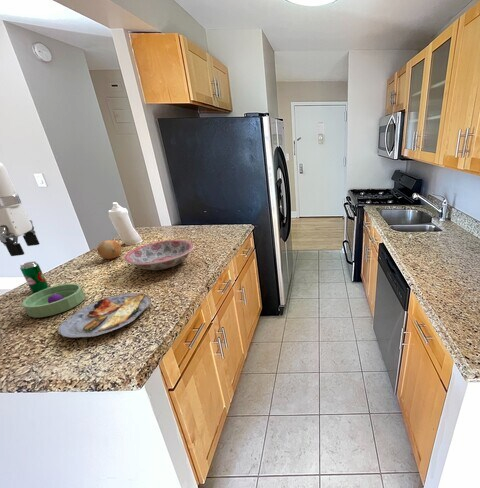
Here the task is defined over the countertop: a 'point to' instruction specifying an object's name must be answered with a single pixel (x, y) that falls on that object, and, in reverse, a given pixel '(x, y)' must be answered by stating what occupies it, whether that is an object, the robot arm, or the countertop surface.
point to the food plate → (104, 315)
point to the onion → (109, 249)
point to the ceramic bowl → (160, 254)
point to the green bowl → (40, 307)
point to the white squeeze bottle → (123, 225)
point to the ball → (54, 298)
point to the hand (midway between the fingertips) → (26, 249)
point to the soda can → (34, 276)
